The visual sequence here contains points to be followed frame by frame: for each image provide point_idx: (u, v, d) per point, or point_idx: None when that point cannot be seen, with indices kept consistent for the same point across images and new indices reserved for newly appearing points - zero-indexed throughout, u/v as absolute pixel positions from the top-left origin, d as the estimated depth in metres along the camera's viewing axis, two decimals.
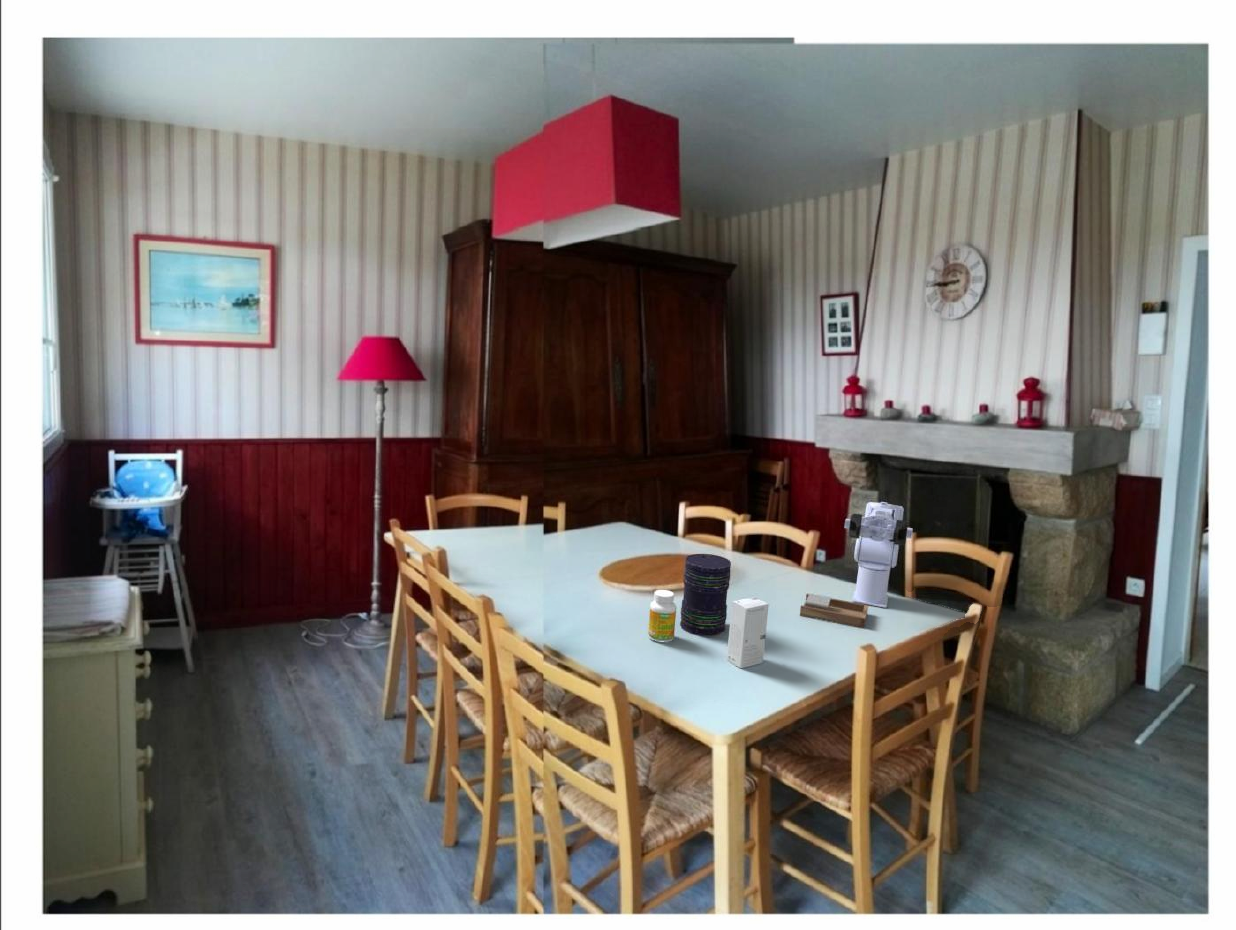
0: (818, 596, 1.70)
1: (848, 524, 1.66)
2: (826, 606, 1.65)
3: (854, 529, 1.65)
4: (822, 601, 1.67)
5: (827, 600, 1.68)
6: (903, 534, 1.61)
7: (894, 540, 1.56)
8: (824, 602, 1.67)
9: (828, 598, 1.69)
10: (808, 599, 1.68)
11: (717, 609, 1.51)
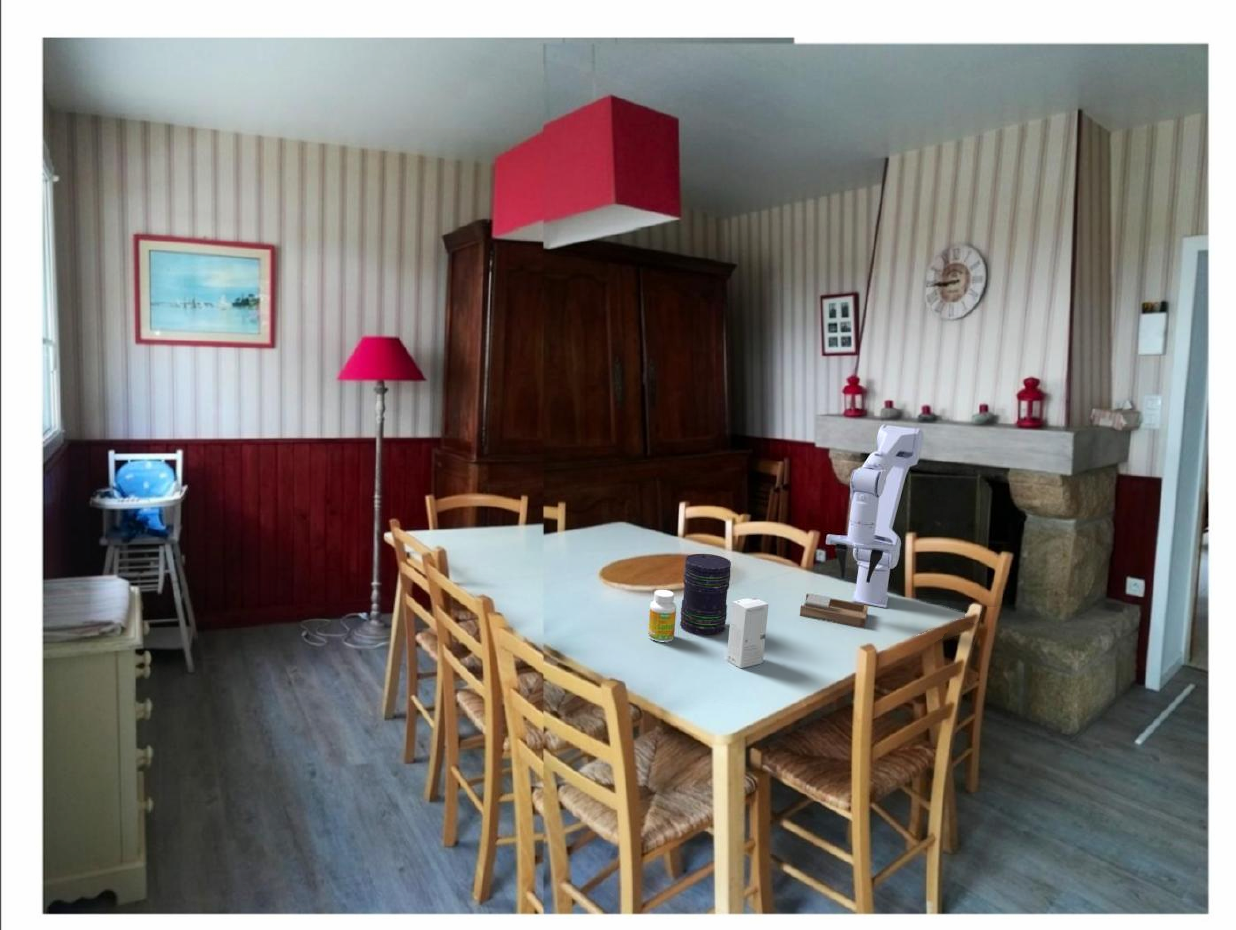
0: (818, 596, 1.70)
1: None
2: (826, 606, 1.65)
3: None
4: (822, 601, 1.67)
5: (827, 600, 1.68)
6: None
7: None
8: (824, 602, 1.67)
9: (828, 598, 1.69)
10: (808, 599, 1.68)
11: (717, 609, 1.51)
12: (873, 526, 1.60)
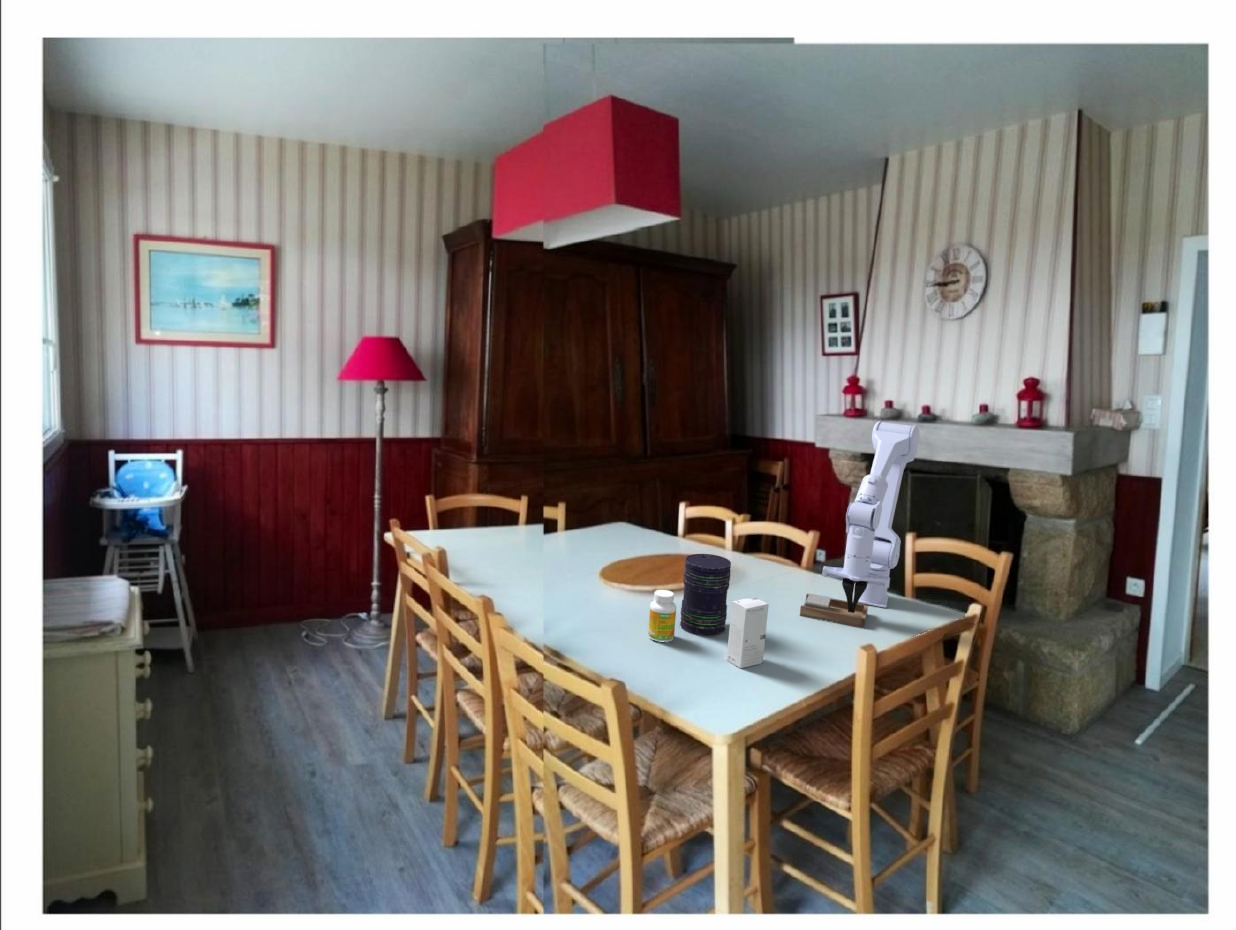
0: (818, 596, 1.70)
1: None
2: (826, 606, 1.65)
3: None
4: (822, 601, 1.67)
5: (827, 600, 1.68)
6: None
7: None
8: (824, 602, 1.67)
9: (828, 598, 1.69)
10: (808, 599, 1.68)
11: (717, 609, 1.51)
12: (869, 559, 1.61)
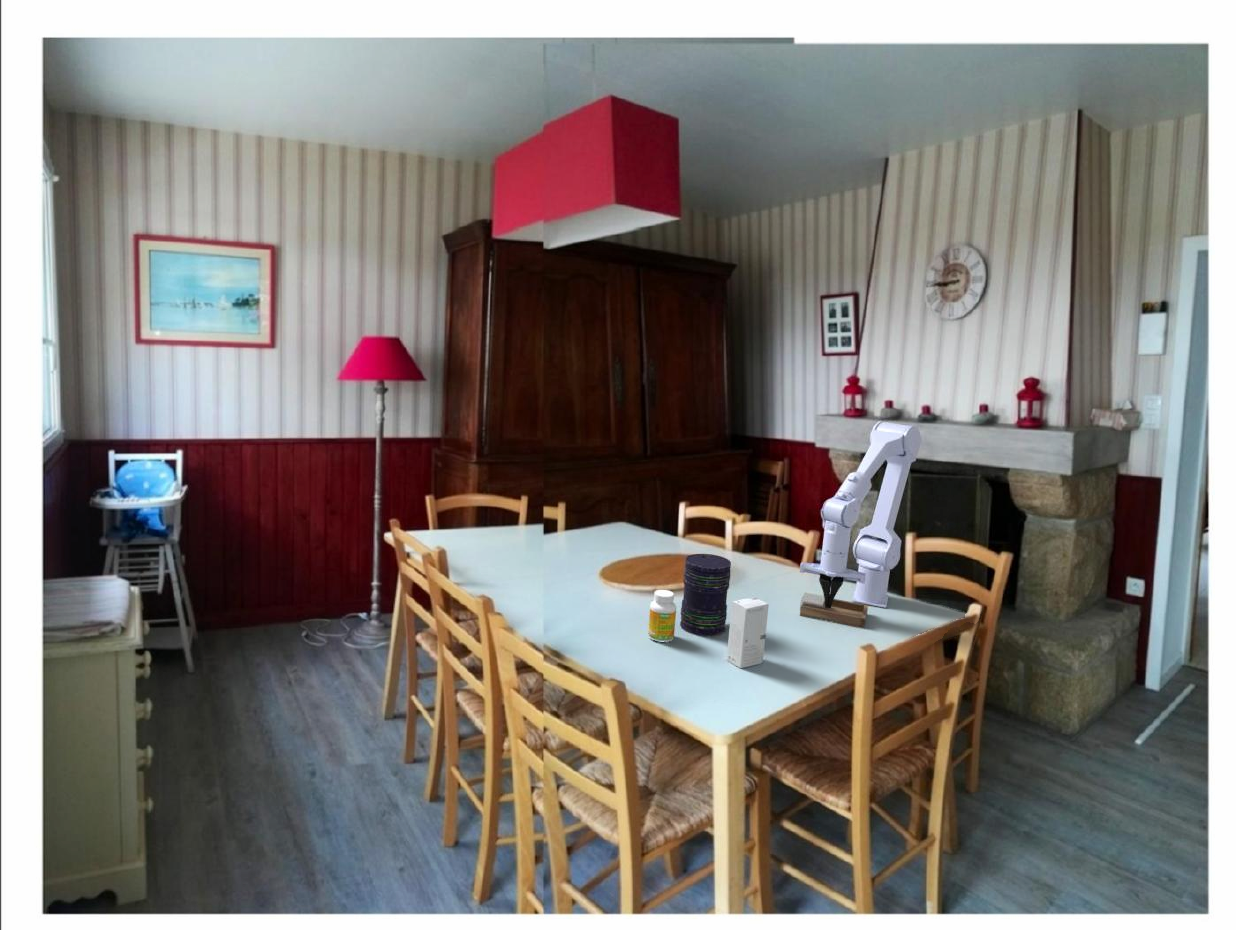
0: (813, 595, 1.71)
1: None
2: (821, 605, 1.65)
3: None
4: (817, 600, 1.67)
5: (822, 599, 1.68)
6: None
7: None
8: (819, 600, 1.67)
9: (823, 597, 1.70)
10: (803, 598, 1.68)
11: (717, 609, 1.51)
12: (845, 555, 1.63)
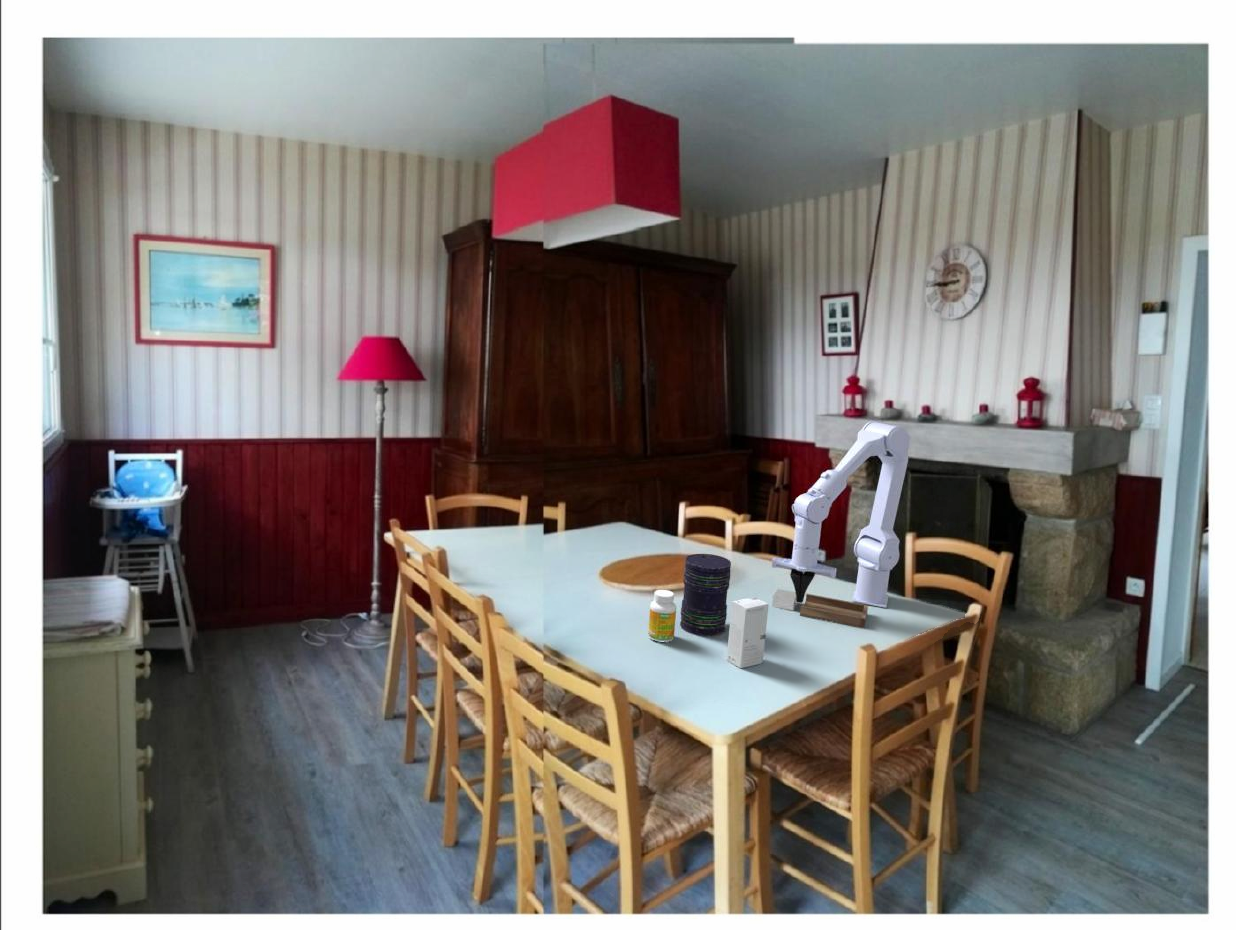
0: (786, 591, 1.73)
1: None
2: (792, 601, 1.68)
3: None
4: (789, 596, 1.70)
5: (794, 595, 1.71)
6: None
7: None
8: (790, 596, 1.70)
9: (795, 593, 1.72)
10: (775, 594, 1.71)
11: (717, 609, 1.51)
12: (815, 550, 1.65)
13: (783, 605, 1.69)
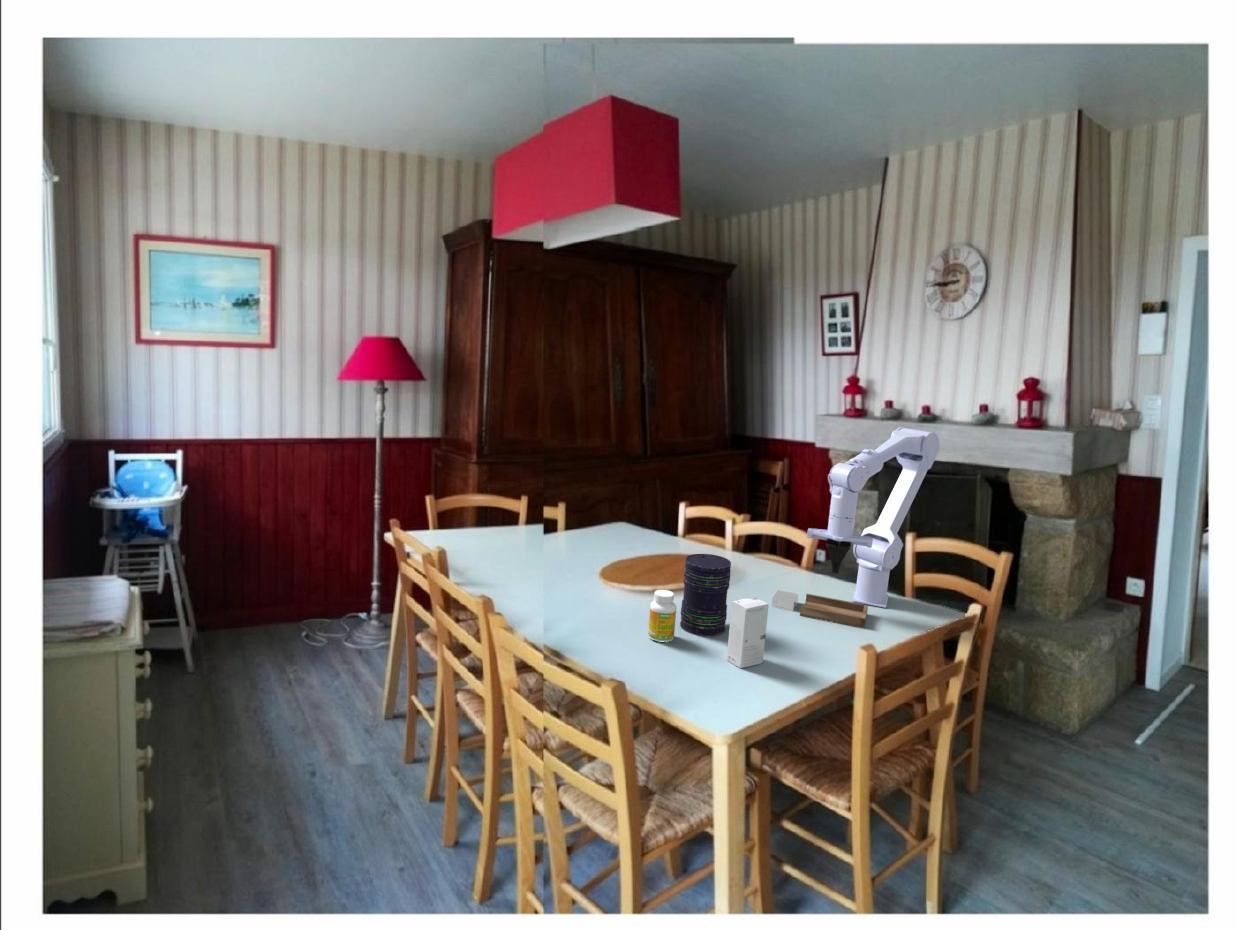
0: (786, 593, 1.73)
1: None
2: (792, 602, 1.68)
3: None
4: (789, 598, 1.70)
5: (794, 597, 1.71)
6: None
7: None
8: (790, 598, 1.70)
9: (795, 595, 1.72)
10: (775, 596, 1.71)
11: (717, 609, 1.51)
12: (852, 520, 1.64)
13: (783, 607, 1.69)
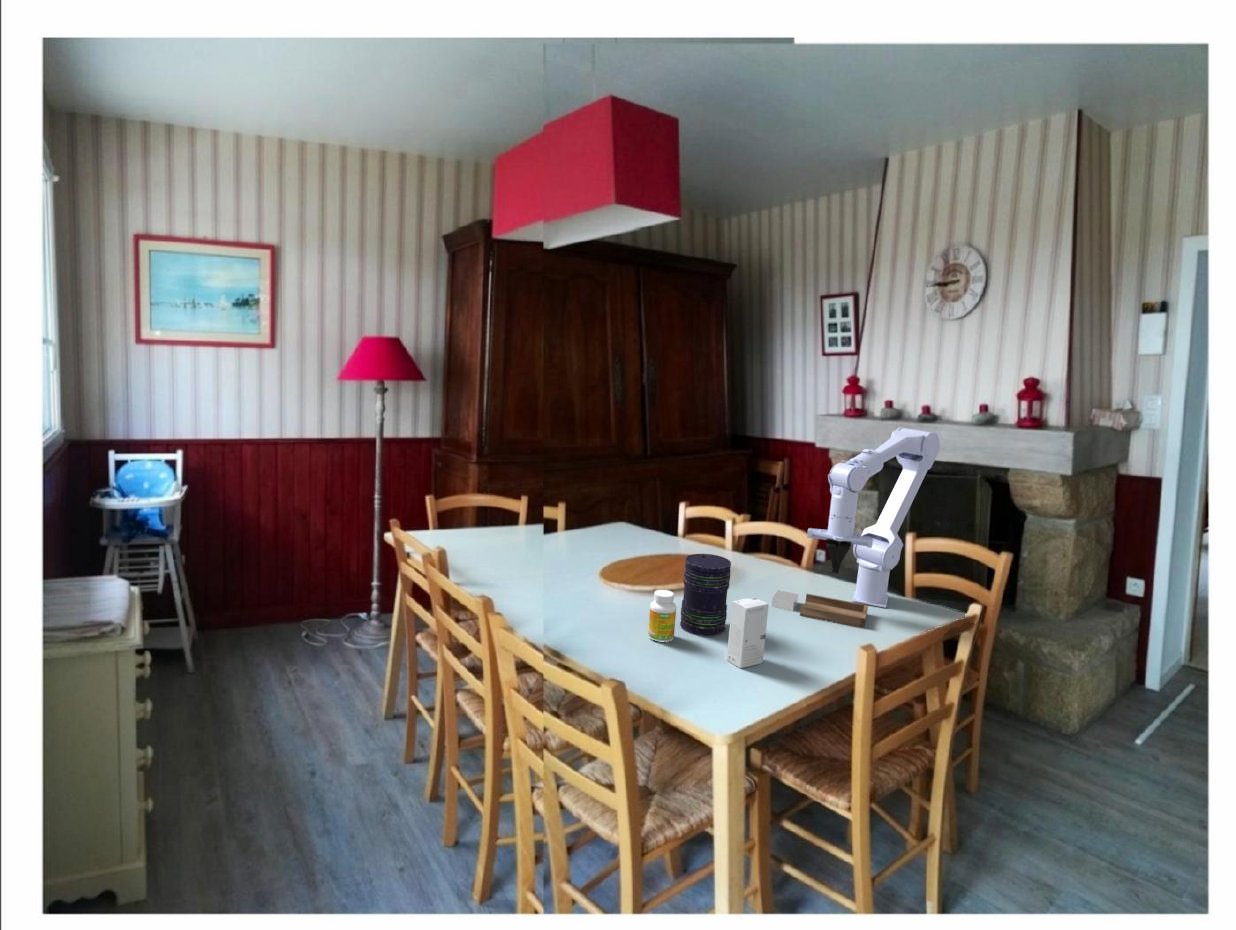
0: (786, 593, 1.73)
1: None
2: (792, 602, 1.68)
3: None
4: (789, 597, 1.70)
5: (794, 597, 1.71)
6: None
7: None
8: (790, 598, 1.70)
9: (795, 595, 1.72)
10: (775, 595, 1.71)
11: (717, 609, 1.51)
12: (852, 520, 1.64)
13: (783, 606, 1.69)
